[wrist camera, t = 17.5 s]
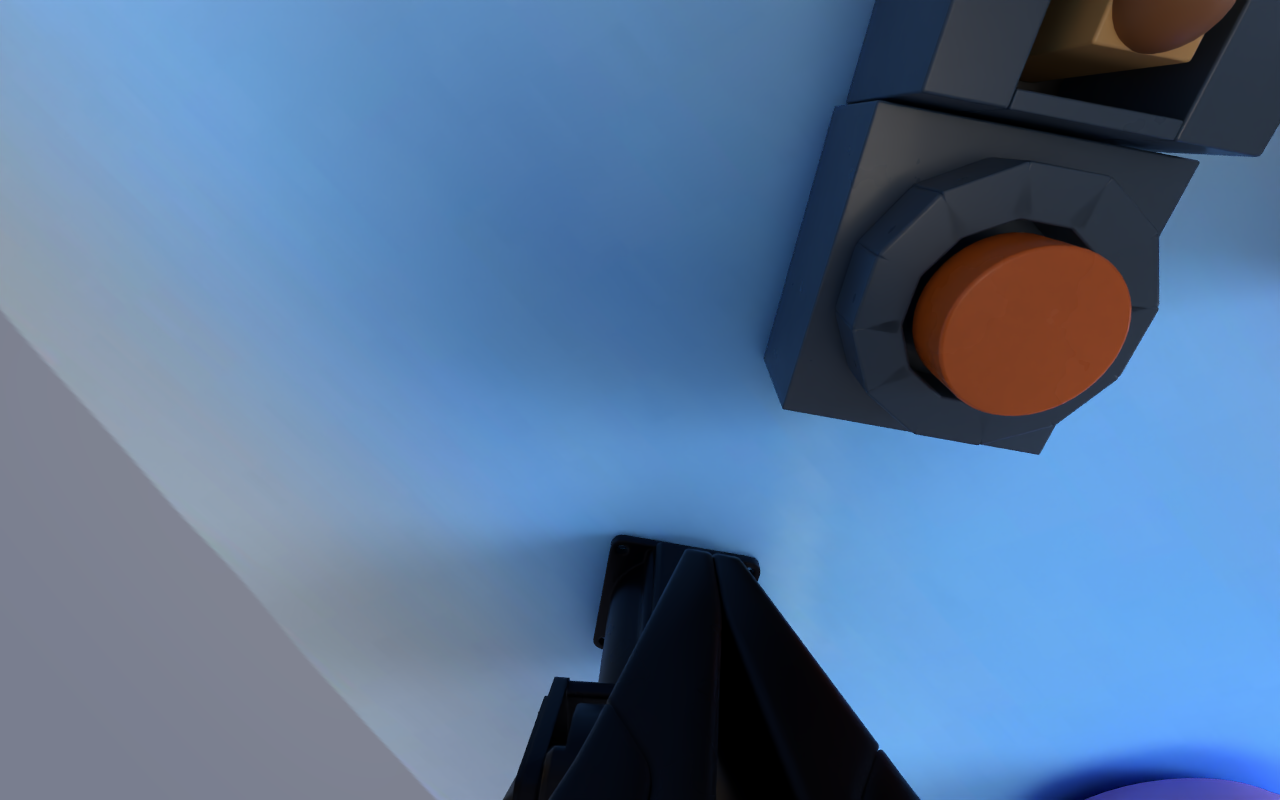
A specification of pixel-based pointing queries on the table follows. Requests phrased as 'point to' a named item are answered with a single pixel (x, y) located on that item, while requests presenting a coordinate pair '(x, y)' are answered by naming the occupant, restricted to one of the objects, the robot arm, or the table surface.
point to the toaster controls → (947, 255)
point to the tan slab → (1118, 35)
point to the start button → (1021, 322)
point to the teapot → (1188, 791)
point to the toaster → (1078, 106)
